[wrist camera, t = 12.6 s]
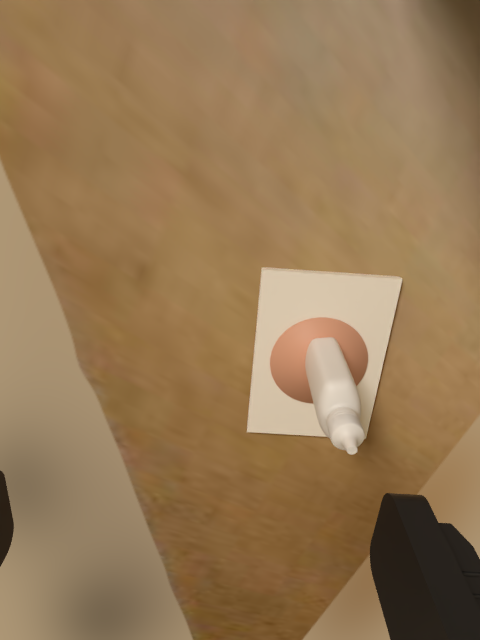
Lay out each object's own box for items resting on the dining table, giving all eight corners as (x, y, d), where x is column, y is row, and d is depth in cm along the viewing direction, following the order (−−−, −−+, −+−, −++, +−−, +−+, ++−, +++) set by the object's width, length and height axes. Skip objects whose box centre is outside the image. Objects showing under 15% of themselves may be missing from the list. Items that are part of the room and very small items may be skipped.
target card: (261, 267, 39) (262, 270, 38) (399, 276, 39) (403, 279, 38) (247, 427, 46) (247, 433, 45) (364, 434, 46) (366, 440, 45)
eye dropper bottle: (359, 345, 41) (402, 430, 30) (330, 393, 43) (359, 488, 32) (316, 328, 40) (343, 408, 29) (288, 378, 42) (304, 469, 31)
